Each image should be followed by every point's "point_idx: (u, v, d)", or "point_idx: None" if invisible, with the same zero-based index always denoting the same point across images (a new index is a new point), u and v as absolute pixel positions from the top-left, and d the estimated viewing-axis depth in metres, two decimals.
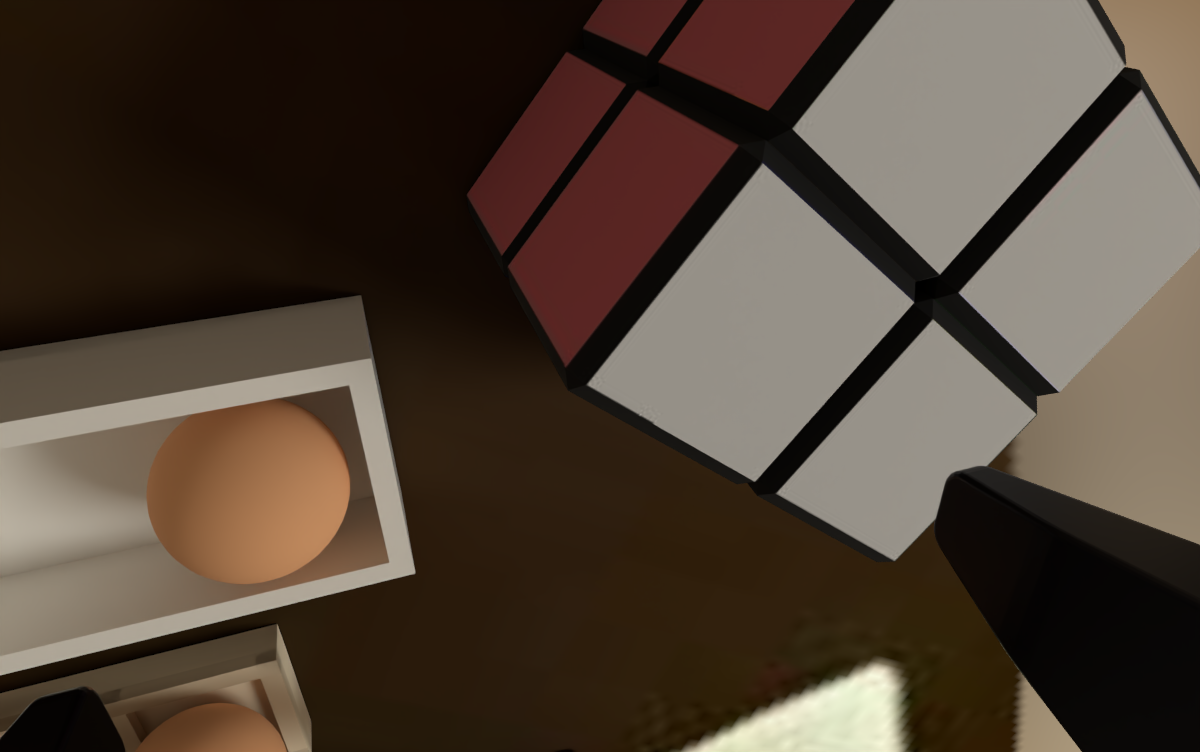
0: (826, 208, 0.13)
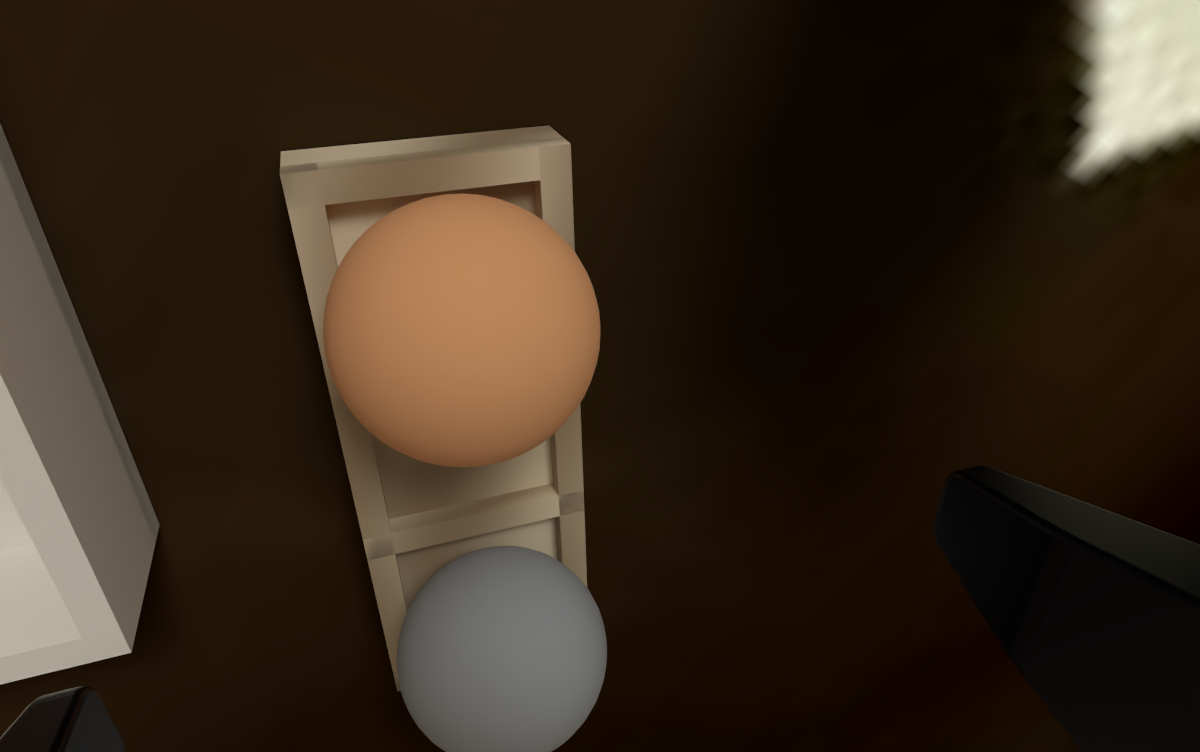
0: None
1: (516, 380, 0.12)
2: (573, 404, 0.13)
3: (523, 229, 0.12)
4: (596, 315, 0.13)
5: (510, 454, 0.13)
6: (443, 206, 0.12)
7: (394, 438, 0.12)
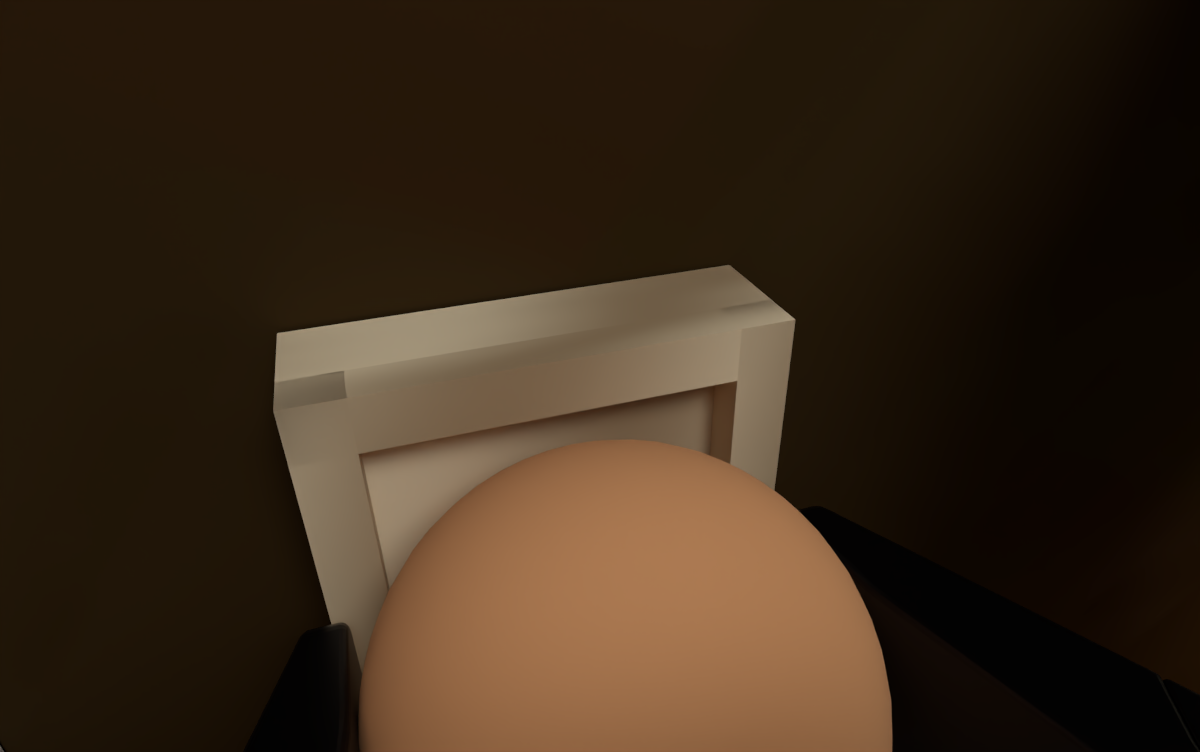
0: None
1: None
2: None
3: (779, 564, 0.06)
4: None
5: None
6: (613, 515, 0.06)
7: None
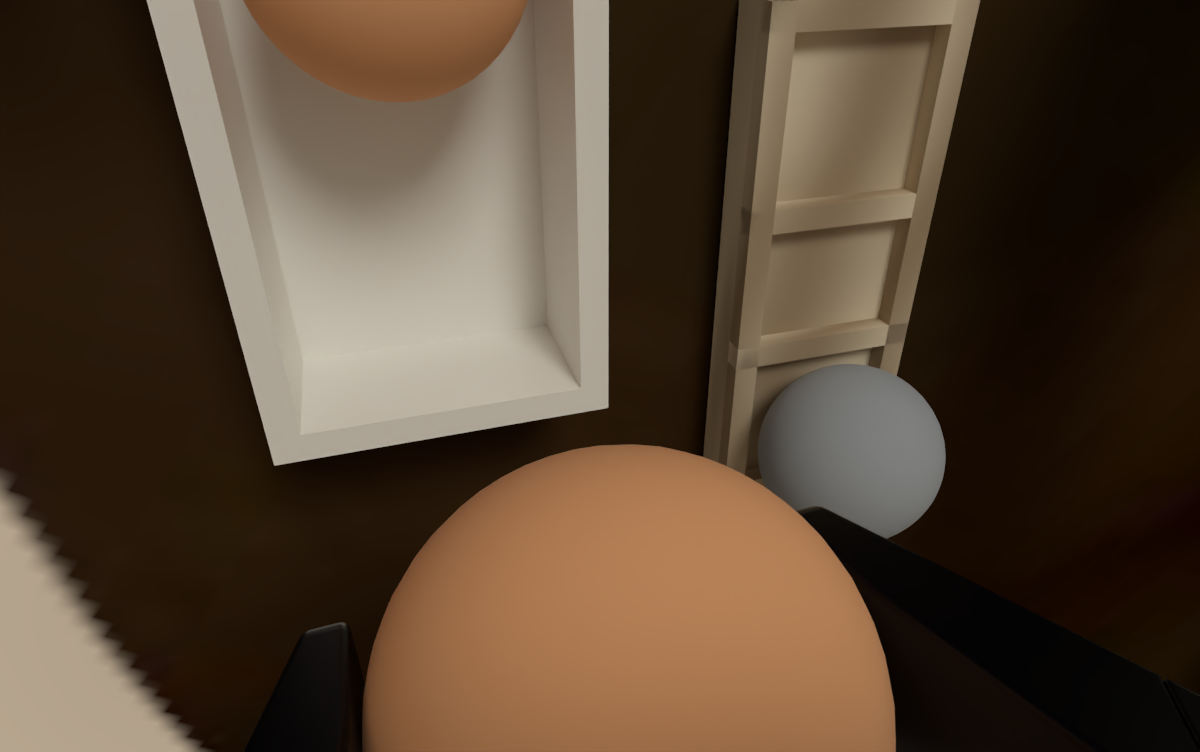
0: None
1: None
2: None
3: (782, 570, 0.06)
4: None
5: None
6: (617, 522, 0.06)
7: None
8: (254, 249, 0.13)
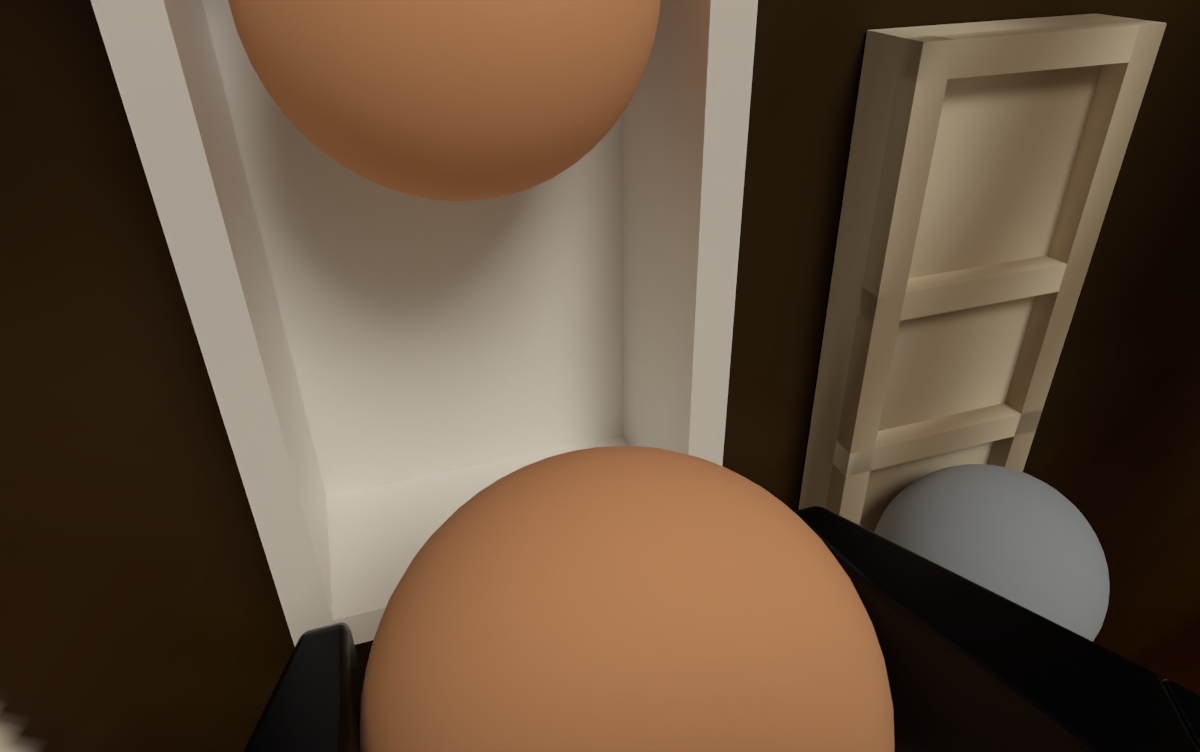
0: None
1: None
2: None
3: (782, 572, 0.06)
4: None
5: None
6: (614, 525, 0.06)
7: None
8: (272, 402, 0.10)
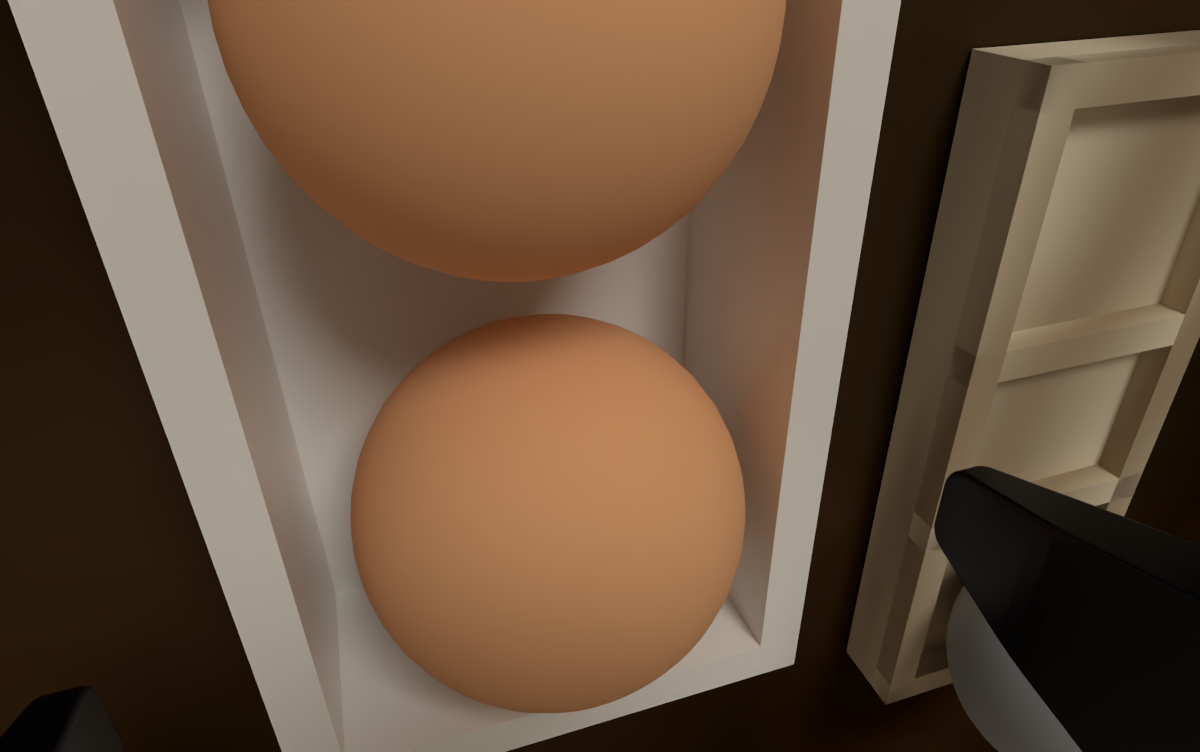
0: None
1: (657, 619, 0.08)
2: None
3: (652, 379, 0.08)
4: (743, 486, 0.09)
5: None
6: (533, 347, 0.08)
7: (464, 691, 0.08)
8: (272, 529, 0.08)
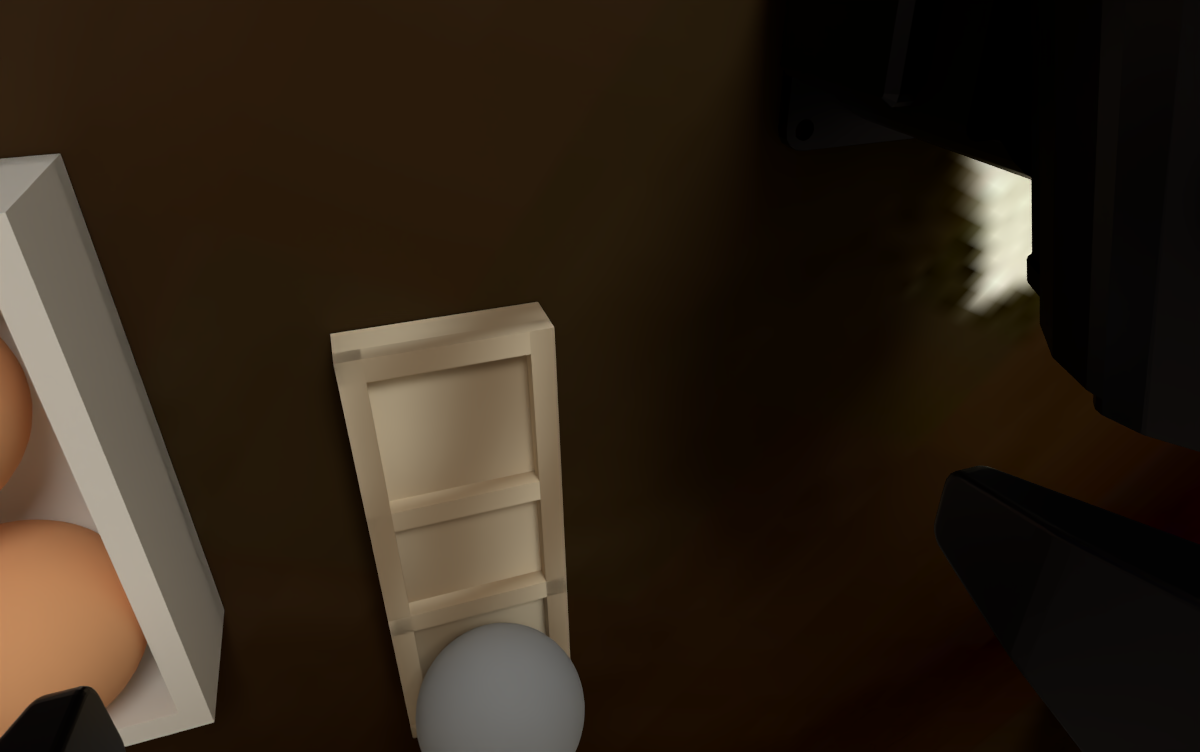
0: None
1: (39, 696, 0.15)
2: (116, 685, 0.16)
3: (43, 566, 0.15)
4: (130, 609, 0.16)
5: None
6: None
7: None
8: None
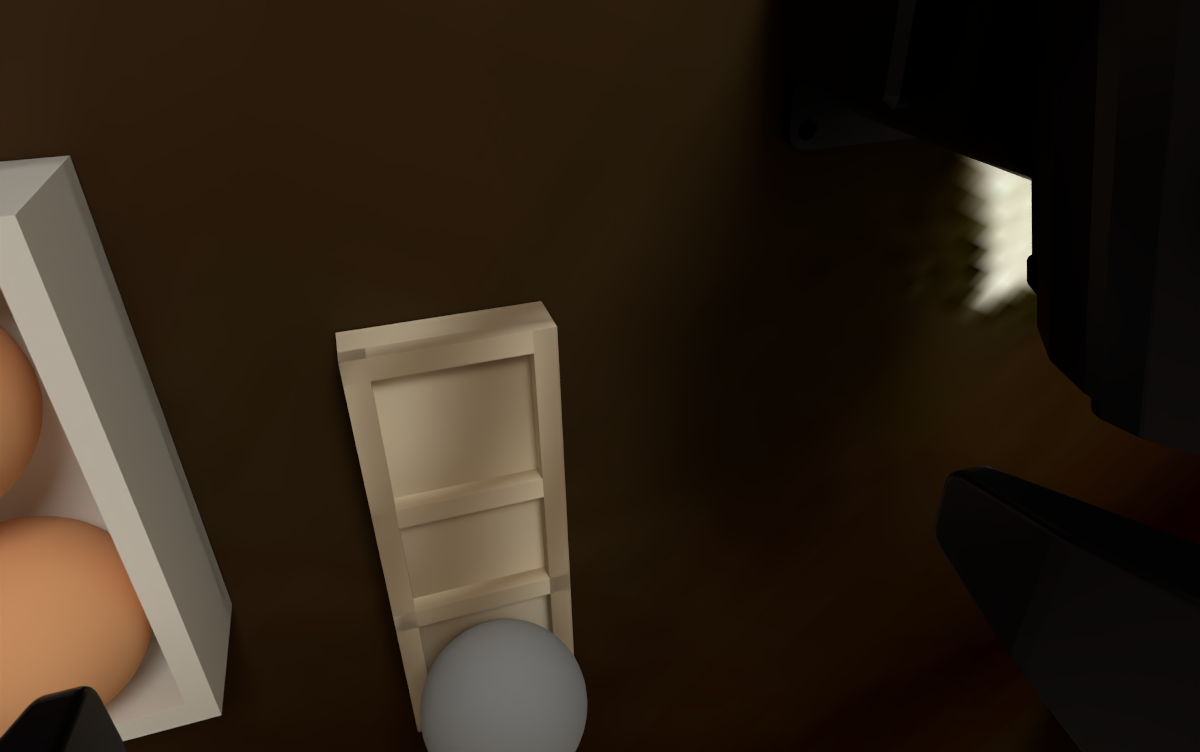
0: None
1: (39, 692, 0.15)
2: (117, 682, 0.16)
3: (47, 563, 0.16)
4: (133, 607, 0.17)
5: None
6: None
7: None
8: None
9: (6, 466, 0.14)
